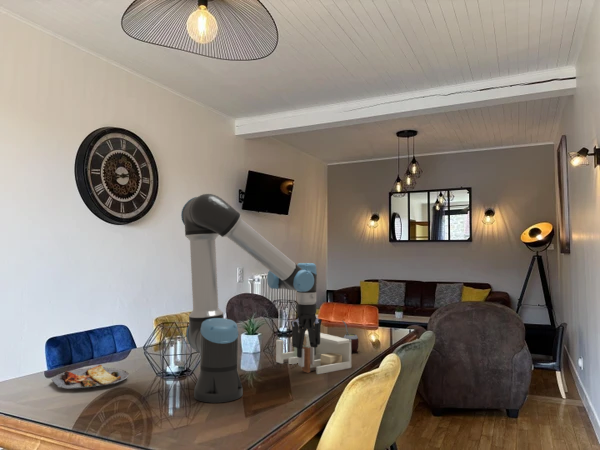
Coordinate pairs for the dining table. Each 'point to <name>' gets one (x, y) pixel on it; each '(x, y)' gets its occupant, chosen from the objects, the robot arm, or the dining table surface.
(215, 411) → the dining table surface
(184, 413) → the dining table surface
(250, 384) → the dining table surface
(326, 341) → the lane rack
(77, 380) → the food plate
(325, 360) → the birch block
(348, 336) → the mate gourd
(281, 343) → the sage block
